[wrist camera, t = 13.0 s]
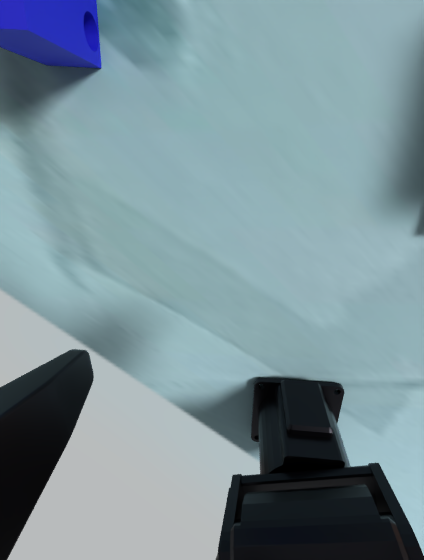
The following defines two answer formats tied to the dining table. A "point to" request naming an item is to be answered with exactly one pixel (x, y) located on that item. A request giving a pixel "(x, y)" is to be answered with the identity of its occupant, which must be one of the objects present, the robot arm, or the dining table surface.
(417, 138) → the dining table surface
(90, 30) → the blue cradle block
